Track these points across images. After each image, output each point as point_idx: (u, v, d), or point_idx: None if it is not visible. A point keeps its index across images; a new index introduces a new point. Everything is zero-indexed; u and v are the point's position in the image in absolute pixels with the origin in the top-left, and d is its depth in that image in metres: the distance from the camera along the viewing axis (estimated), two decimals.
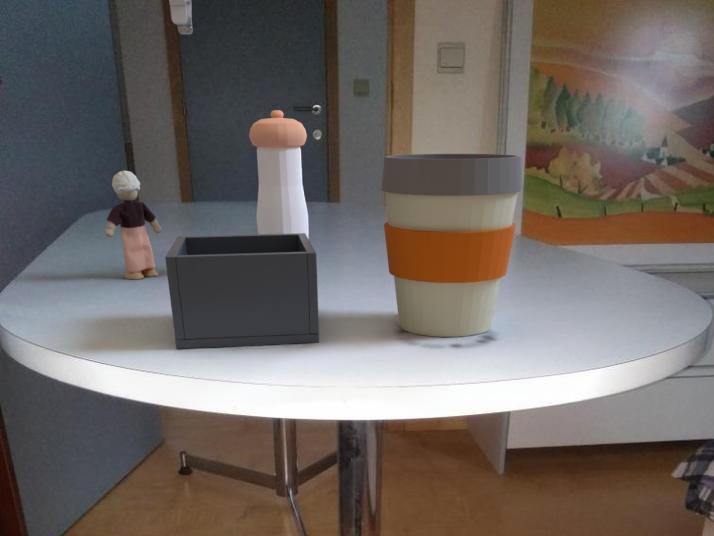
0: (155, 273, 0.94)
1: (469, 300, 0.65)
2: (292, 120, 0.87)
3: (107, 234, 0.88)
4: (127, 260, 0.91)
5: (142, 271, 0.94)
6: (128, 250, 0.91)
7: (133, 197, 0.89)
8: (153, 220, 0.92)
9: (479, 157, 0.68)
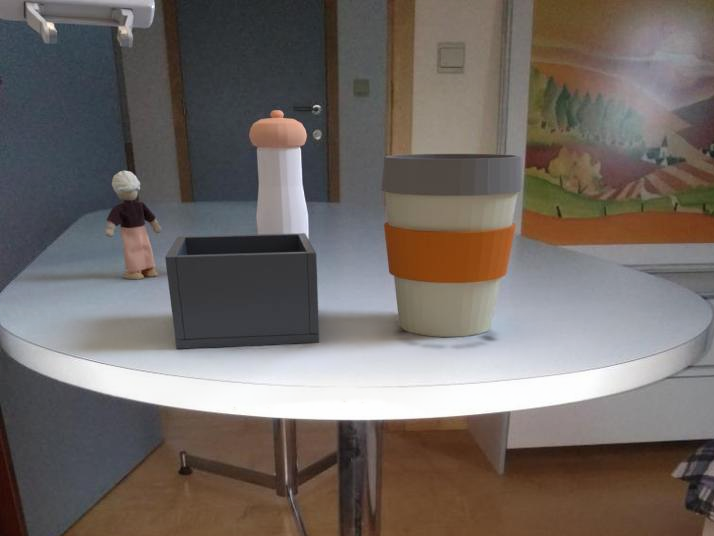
0: (155, 273, 0.94)
1: (469, 300, 0.65)
2: (292, 120, 0.87)
3: (107, 234, 0.88)
4: (127, 260, 0.91)
5: (142, 271, 0.94)
6: (128, 250, 0.91)
7: (133, 197, 0.89)
8: (153, 220, 0.92)
9: (479, 157, 0.68)
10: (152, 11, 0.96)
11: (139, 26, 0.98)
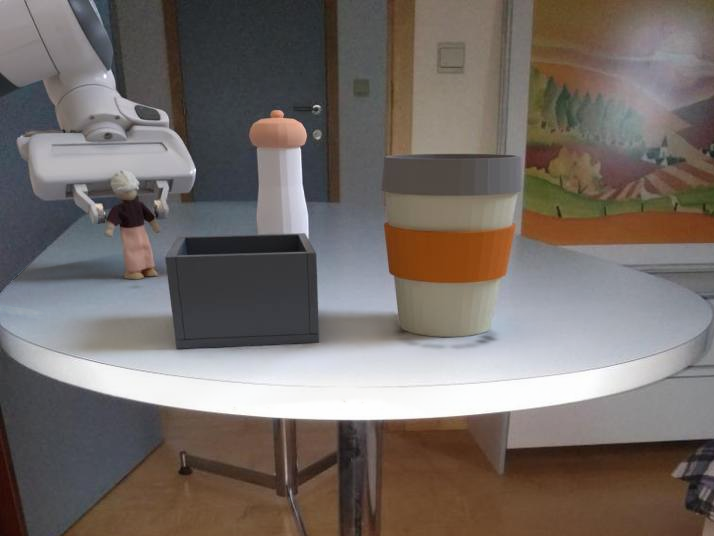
0: (155, 273, 0.94)
1: (469, 300, 0.65)
2: (292, 120, 0.87)
3: (106, 234, 0.88)
4: (127, 260, 0.91)
5: (142, 271, 0.94)
6: (128, 250, 0.91)
7: (132, 197, 0.89)
8: (152, 220, 0.92)
9: (479, 157, 0.68)
10: (193, 178, 0.95)
11: (179, 192, 0.96)
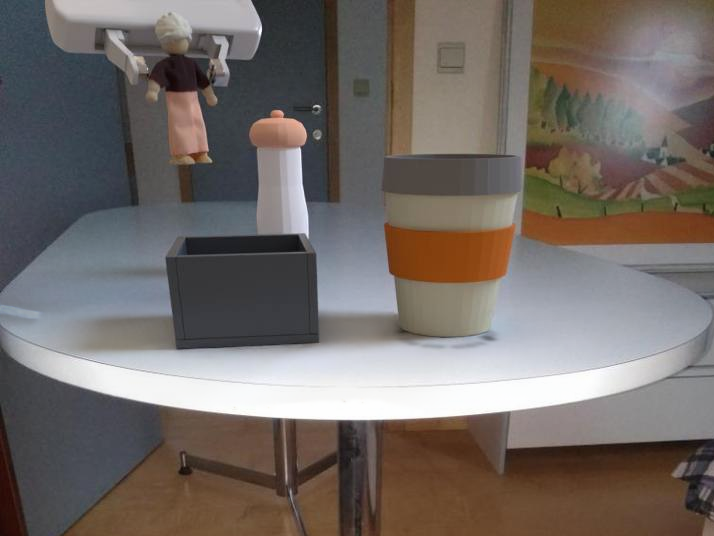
0: (209, 159, 0.72)
1: (469, 300, 0.65)
2: (292, 120, 0.87)
3: (149, 98, 0.66)
4: (174, 138, 0.69)
5: (192, 157, 0.72)
6: (176, 124, 0.69)
7: (183, 49, 0.67)
8: (207, 86, 0.70)
9: (479, 157, 0.68)
10: (258, 37, 0.73)
11: (240, 57, 0.74)
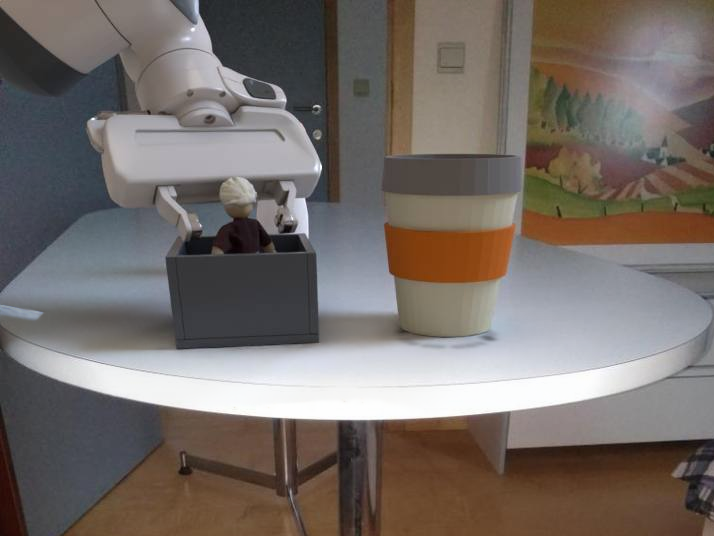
0: None
1: (469, 300, 0.65)
2: None
3: None
4: None
5: None
6: None
7: (247, 213, 0.64)
8: (269, 244, 0.68)
9: (479, 157, 0.68)
10: (318, 179, 0.70)
11: (297, 197, 0.71)
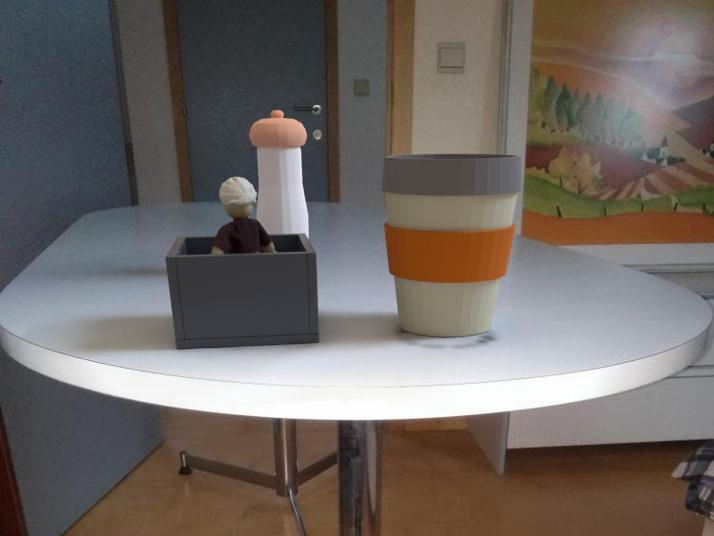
0: None
1: (469, 300, 0.65)
2: (292, 120, 0.87)
3: None
4: None
5: None
6: None
7: (247, 213, 0.64)
8: (269, 244, 0.68)
9: (479, 157, 0.68)
10: None
11: None
